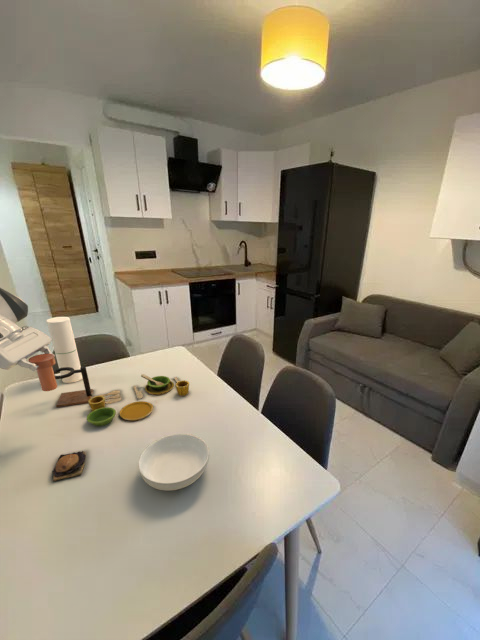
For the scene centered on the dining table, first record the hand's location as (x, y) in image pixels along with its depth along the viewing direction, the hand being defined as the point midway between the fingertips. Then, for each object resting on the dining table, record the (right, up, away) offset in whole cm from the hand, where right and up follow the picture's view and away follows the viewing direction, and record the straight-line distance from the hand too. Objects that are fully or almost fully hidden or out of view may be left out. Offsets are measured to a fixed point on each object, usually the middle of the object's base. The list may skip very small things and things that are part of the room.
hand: (44, 363), depth 96 cm
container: (-20, -10, +45) cm, 50 cm away
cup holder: (-9, -17, +29) cm, 35 cm away
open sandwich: (+11, -33, -4) cm, 35 cm away
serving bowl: (+45, -34, -5) cm, 57 cm away
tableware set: (+19, -18, +30) cm, 40 cm away
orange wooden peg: (-1, -9, +4) cm, 9 cm away
